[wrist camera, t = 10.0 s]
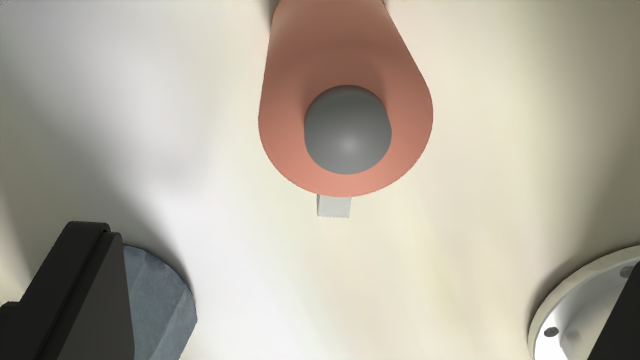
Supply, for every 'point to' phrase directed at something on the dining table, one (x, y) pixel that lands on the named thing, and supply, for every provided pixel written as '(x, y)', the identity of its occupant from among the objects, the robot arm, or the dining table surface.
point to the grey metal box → (3, 1)
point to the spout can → (341, 100)
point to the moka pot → (157, 307)
